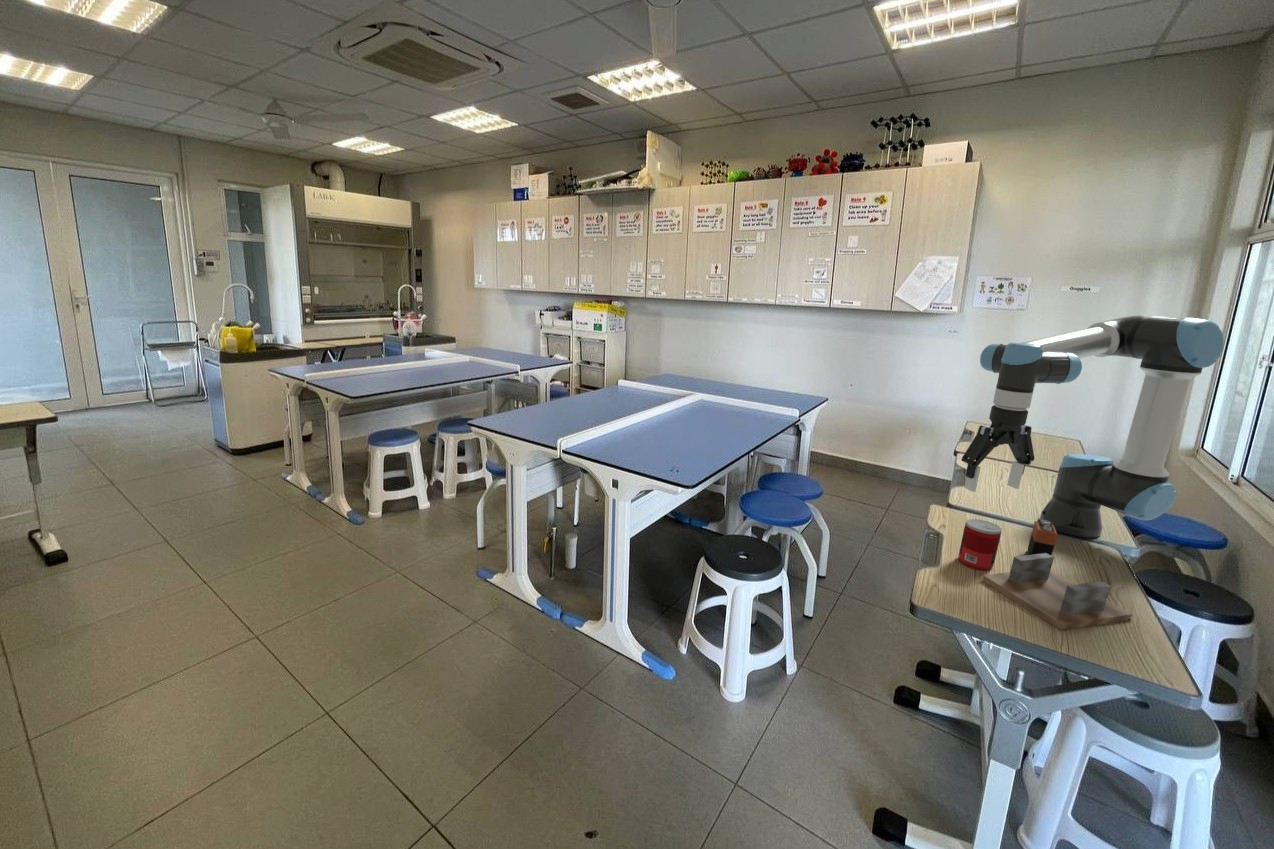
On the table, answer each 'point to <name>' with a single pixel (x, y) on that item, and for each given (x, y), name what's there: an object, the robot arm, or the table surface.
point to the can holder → (1056, 594)
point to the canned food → (979, 544)
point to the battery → (1042, 538)
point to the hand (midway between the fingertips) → (991, 488)
